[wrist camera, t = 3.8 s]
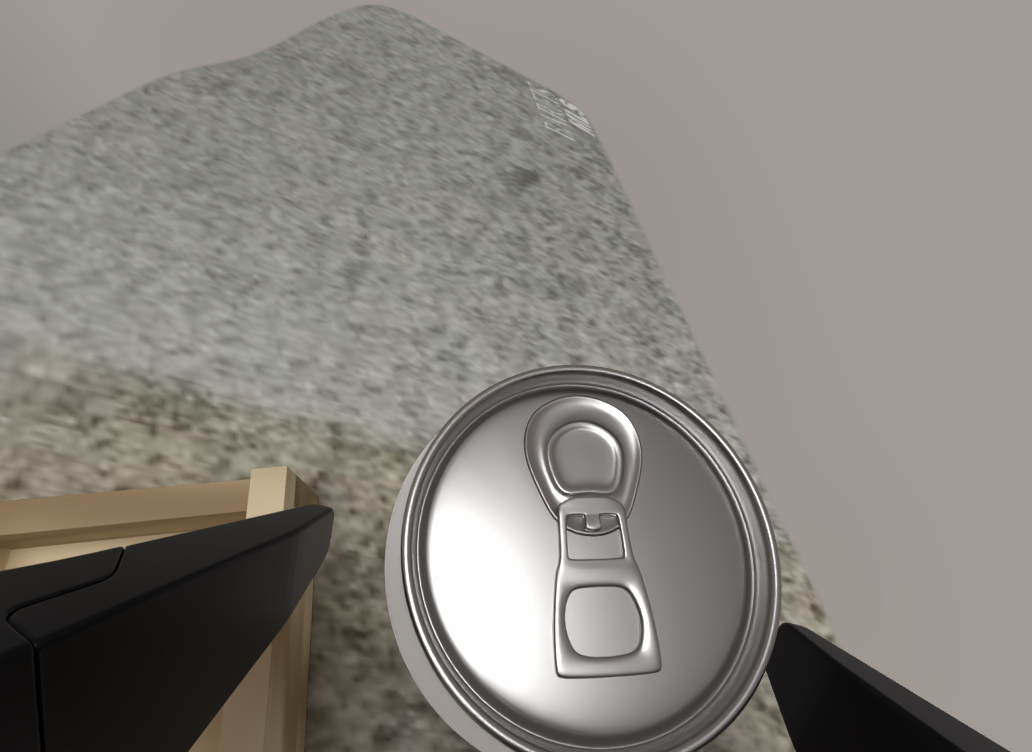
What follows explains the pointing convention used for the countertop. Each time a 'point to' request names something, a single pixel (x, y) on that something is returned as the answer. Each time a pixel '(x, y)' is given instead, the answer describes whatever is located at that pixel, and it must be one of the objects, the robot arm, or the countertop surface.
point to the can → (582, 569)
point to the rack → (170, 511)
